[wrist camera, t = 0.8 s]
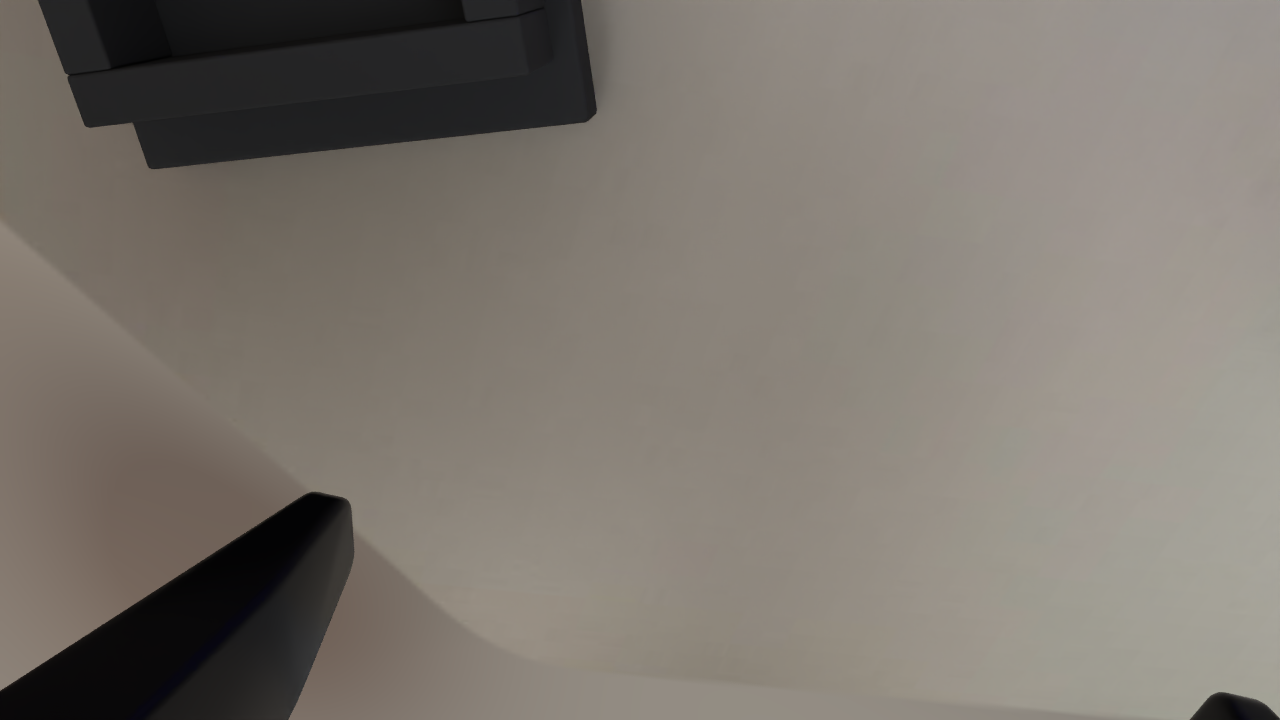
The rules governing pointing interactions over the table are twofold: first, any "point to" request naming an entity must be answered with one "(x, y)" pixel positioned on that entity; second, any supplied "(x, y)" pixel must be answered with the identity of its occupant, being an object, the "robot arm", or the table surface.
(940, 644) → the table surface
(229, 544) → the robot arm
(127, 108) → the socket pad
